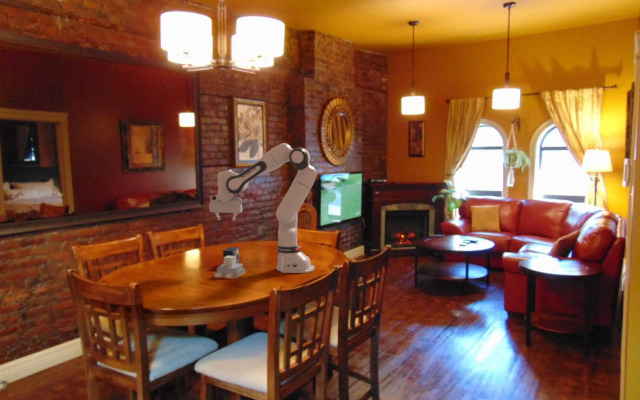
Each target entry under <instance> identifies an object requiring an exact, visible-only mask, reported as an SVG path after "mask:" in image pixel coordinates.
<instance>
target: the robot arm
mask: <svg viewBox="0 0 640 400" xmlns="http://www.w3.org/2000/svg"><path fill="white" fill-rule="evenodd" d="M288 162H290V163H291V165H292V166H293V167H294V168H295V169H296V171H297V173H296V175H295V177H294V179H293V181H292V182H291V185H290V186H289V188H288V189H287V192H286V193H285V195H284V197H283V198H282V200H281V202H280V203H279V205H278V207H277V209H276V212H275V216H276V217H275V218H276V219H277V221H278V231H277V233H278V234H277V238H278V242H277V243H278V245H277V263H276V270H277V271H278V272H280V273H282V274H283V273H285V274H286V273H287V274H289V273H291V274H294V273H296V274H297V273H298V274H300V273H301V274H304V273H305V274H308V273H311V272H313V271H314V270H315V265H313V264H312V263H311V259H310V257H309V256H307V255H306V254H305V253H304V252H303V251H301V248H302V246H301V245H299V244H298V220H299V217H298V215H299V211H300V209H301V207H302V205H303V204H304V202H305V200H306V198H307V196H308V194H309V193H310V192H311V189H312V187H313V186H314V183H315V182H316V178H317V175H318V171H317V169H316V168H315V167H314V166H313V165H311V162H312V154H311V153H310V151H309V150H307V149H306V148H303V147H295V148H293V147H291V145H290V144H288V143H286V142H282V143H280V144H278V145H275V146H274V147H273V148H271V149H270V150H268V151H266V152H265V154H263V155H262V156H261V157H260V158H259V159H258V160H257V161H256V162H255V163H254V164H253V165H251V166H250V167H249V168H247V169H245V170H244V171H243V172H241V173H237V172H234V171H233V170H232V169H230V168H229V169H228V168H227V169H224V170H220V171H219V172H218V174H217V188H218V190H217V194H215V195H211V196H210V197H209V198H210V199H209V200H210V201H209V205H208V211H209V212H210V213H214V214H215V216H216V220H217V221H221V218H222V217H221V216H220V215H219V214H220V213H224V214H225V213H226V214H227V213H228V214H232V215H233V216H232V217H231V221H236V217H237V215H238V214H240V213H242V212H243V199H242V198H241V197H239V196H238V197H236V196H234V194H235V195H236V194H237V195H238V194H239V193H241V192H243V191H245V190H247V189H248V188H249V184H250V181H253V179H255V178H256V177H258V176H260V175H263V174H265V173H266V174H267V173H270V172H272V171H275V170H276V169H278V168H280V167H281V166H283V165H284V164H286V163H288Z"/></svg>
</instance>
